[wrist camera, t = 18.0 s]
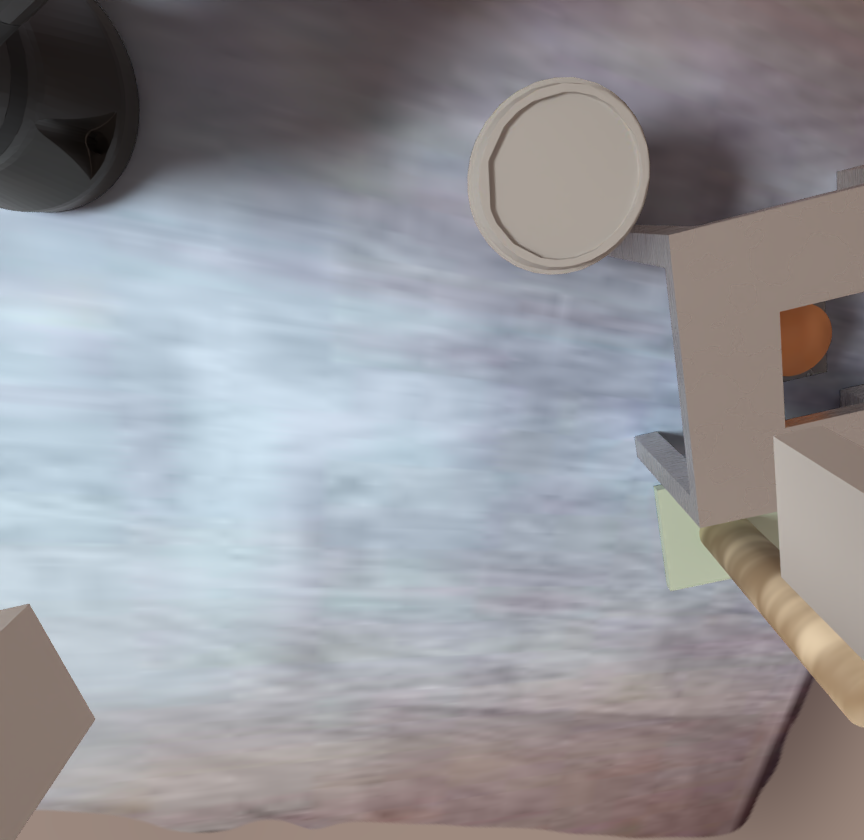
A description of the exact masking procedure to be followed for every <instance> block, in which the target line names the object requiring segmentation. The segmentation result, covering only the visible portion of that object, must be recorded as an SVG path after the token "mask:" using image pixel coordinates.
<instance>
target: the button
mask: <svg viewBox="0 0 864 840" xmlns="http://www.w3.org/2000/svg"><path fill="white" fill-rule="evenodd" d="M780 330H781V350H782V371H783V376H794V375H798V374H801V373H804V372H806V371H808V370H809V369H811V368H812V367H814V366H815V365H816V364H817V363H818V362H819V361H820V360H821V359H822V358H823V356H824V355H825V353H826V352H827V350H828V348H829V345H830V342H831V338H832V326H831V322H830V320H829V317H828V316H827V314H826V313H825V312H824V311H823V310H822V309H821V308H819V307H818V306H816V305H813V304H810V305H806V306H802V307H798V308H794V309H790V310H785V311H781V312H780Z"/></svg>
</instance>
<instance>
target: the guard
mask: <svg viewBox="0 0 864 840" xmlns="http://www.w3.org/2000/svg"><path fill="white" fill-rule="evenodd" d="M609 257H614V258H619V259H624V260H629V261H634V262H638V263H643V264H648V265H653V266H658V267H663V268H665V273H666V282H667V291H668V300H669V309H670V318H671V327H672V336H673V345H674V354H675V362H676V371H677V380H678V389H679V398H680V407H681V416H682V425H683V434H684V443H685V452H686V458H685V457H683V456H682V455H681V454H680V453H679V452H678V451H677V450H676V449H675V448H674V447H673V446H672V445H671V444H670V443H668V442H667V441H666V440H665V439H664V438H663V437H662V436H661V435H660V434H659V433H658V432H652V433H648V434H644V435H639V436H635V437H634V438H635V445H636V452H637V457H638V458H639V459H640V461H641V462H642V463H643V464H644V465H645V466H646V467H647V468H648V470H649V471H650V472H651V473H652V474H653V475H654V476H655V478H656V479H657V480H658V481H659V482H660V483H661V484H662V486H663V487H664V488H665V489H666V490H667V491H668V492H669V493H670V495H671V496H672V497H673V498H674V499H675V500H676V501H677V503H678V504H679V505H680V506H681V507H682V508H683V509H684V511H685V512H686V513H687V514H688V515H689V516H690V517H691V518H692V520H693V521H694V522H695V523H696V524H697V525H698V526H699V528H703V527H708V526H712V525H717V524H722V523H726V522H731V521H736V520H740V519H745V518H750V517H754V516H759V515H763V514H768V513H773V512H777V496H776V479H775V461H774V443H773V436H776V435H781V434H785V433H790V432H794V431H799V430H803V429H807V428H812V427H816V426H823V427H825V428H827V429H829V430H831V431H833V432H835V433H837V434H839V435H840V436H842V437H844V438H846V439H848V440H850V441H852V442H854V443H856V444H858V445H860V446H861V447H863V448H864V384H863V385H858V386H854V387H849V388H845V389H841V390H840V408H837V409H832V410H828V411H824V412H819V413H815V414H810V415H806V416H801V417H797V418H793V419H788V420H785V412H784V391H783V382H785V381H790V380H794V379H798V378H803V377H807V376H811V375H816V374H820V373H824V372H827V359H826V353H825V355H824V356H823V358H822V359H821V360H820V361H819V362H818V363H817V364H816V365H815V366H814V367H812V368H811V369H809V370H808V371H806V372H804V373H801V374H798V375H794V376H783V371H782V350H781V330H780V312H781V311H785V310H790V309H794V308H798V307H802V306H806V305H810V304H813V305H816V306H818V307H819V308H821V309H822V310H823V311H824V312H825V301H827V300H831V299H835V298H840V297H844V296H848V295H852V294H856V293H860V292H864V165H861V166H857V167H853V168H850V169H846V170H842V171H838V172H837V190H836V191H832V192H828V193H824V194H820V195H816V196H812V197H808V198H804V199H801V200H797V201H793V202H789V203H785V204H781V205H777V206H773V207H769V208H765V209H761V210H757V211H753V212H749V213H745V214H741V215H737V216H733V217H729V218H726V219H722V220H718V221H714V222H710V223H706V224H702V225H698V226H664V225H634V226H633V228H632V229H631V231H630V233H629V234H628V235H627V236H626V238H625V239H624V240H623V241H622V243H621V244H620V245H618V246H617V247H616V248H615V249H614V250H613V251H612V252H611V253H610V254H609Z"/></svg>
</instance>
